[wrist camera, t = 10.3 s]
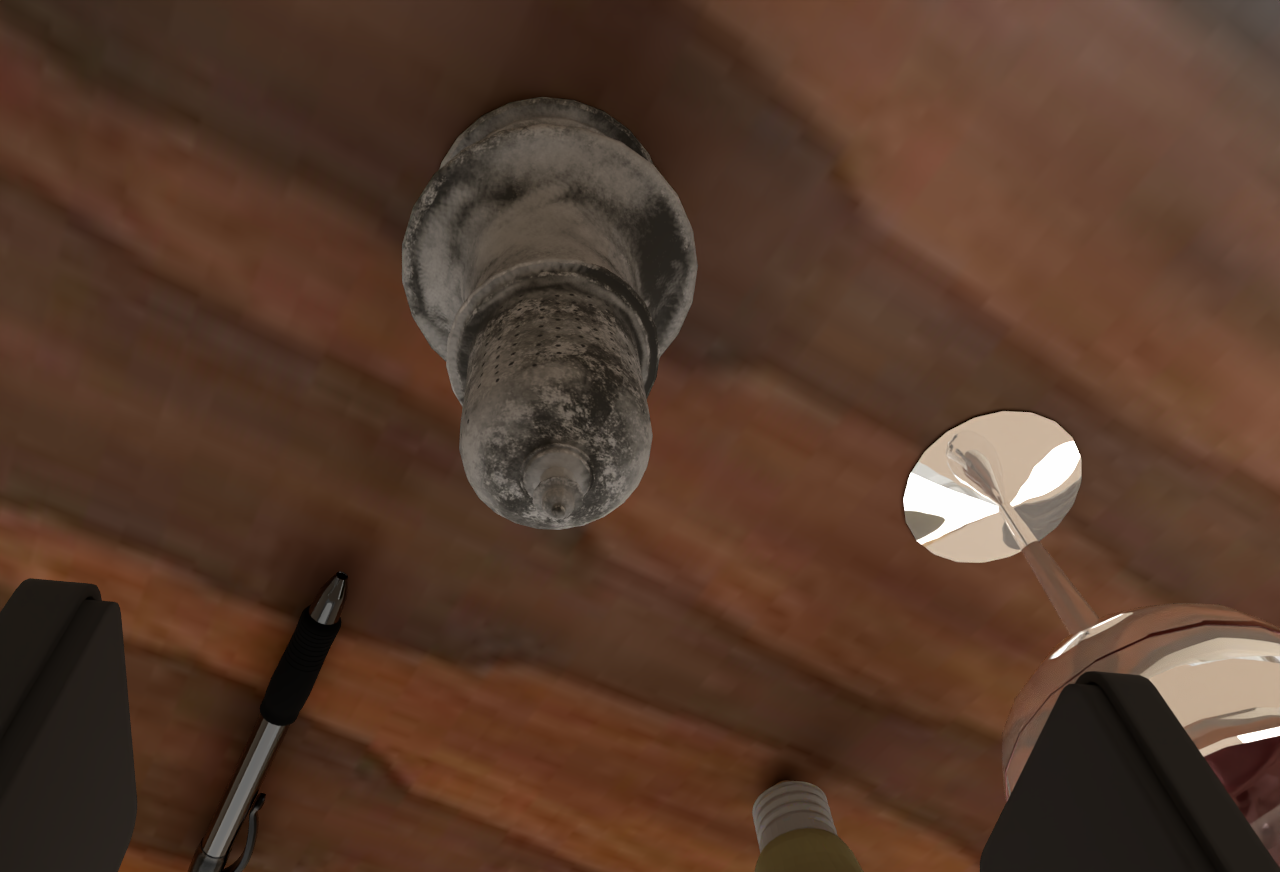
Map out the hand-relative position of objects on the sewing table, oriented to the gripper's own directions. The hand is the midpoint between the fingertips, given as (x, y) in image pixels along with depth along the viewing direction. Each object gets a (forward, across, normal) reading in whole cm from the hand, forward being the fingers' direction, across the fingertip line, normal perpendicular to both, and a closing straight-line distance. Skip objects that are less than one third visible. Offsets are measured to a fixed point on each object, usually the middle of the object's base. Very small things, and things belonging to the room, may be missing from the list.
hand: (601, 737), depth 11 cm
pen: (+16, +7, +17) cm, 24 cm away
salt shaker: (+16, +1, 0) cm, 16 cm away
